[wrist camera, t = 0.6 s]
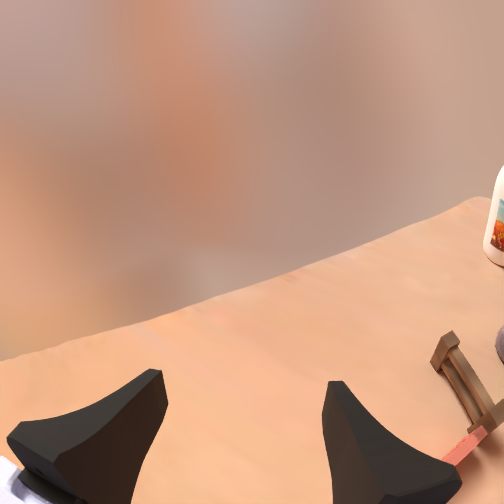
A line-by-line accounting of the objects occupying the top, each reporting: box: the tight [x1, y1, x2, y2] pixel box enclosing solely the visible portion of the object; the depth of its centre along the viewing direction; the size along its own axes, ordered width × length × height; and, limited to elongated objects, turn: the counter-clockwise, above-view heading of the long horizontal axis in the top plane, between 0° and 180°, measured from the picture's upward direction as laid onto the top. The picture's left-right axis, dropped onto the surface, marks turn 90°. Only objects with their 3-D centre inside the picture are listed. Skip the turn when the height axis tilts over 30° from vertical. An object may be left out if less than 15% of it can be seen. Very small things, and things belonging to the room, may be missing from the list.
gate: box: [441, 425, 488, 466], centre depth 15 cm, size 11×1×4 cm, turn 111°
